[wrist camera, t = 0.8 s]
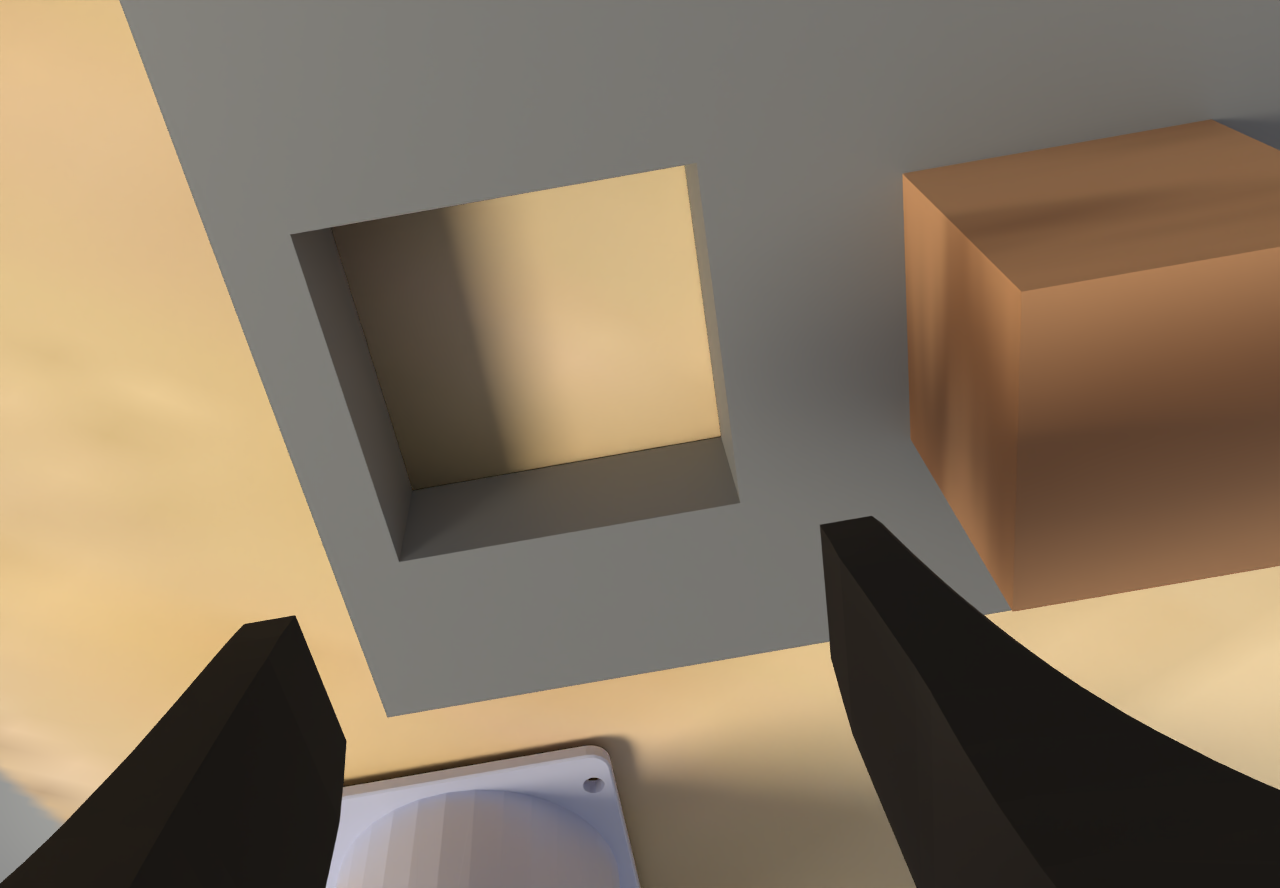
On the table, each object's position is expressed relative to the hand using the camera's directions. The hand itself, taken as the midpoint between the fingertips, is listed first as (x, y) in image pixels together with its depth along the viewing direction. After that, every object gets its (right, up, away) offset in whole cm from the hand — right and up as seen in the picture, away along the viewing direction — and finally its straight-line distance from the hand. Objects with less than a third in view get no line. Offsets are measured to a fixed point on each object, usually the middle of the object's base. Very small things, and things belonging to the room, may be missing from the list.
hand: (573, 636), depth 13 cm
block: (+8, +5, +6) cm, 11 cm away
